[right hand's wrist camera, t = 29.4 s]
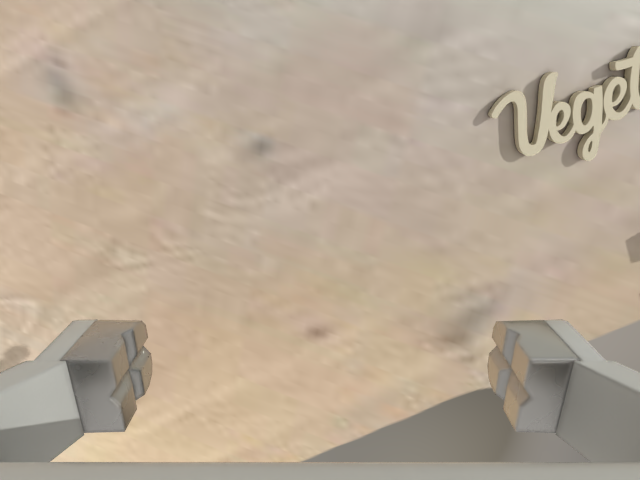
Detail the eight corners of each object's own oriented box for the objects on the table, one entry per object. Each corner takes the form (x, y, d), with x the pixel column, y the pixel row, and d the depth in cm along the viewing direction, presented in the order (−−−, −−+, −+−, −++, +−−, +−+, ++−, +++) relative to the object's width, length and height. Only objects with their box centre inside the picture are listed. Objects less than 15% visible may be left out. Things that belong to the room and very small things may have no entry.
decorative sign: (515, 192, 46) (487, 102, 43) (511, 189, 47) (483, 101, 44) (782, 80, 42) (774, -29, 39) (772, 80, 43) (763, -27, 40)
